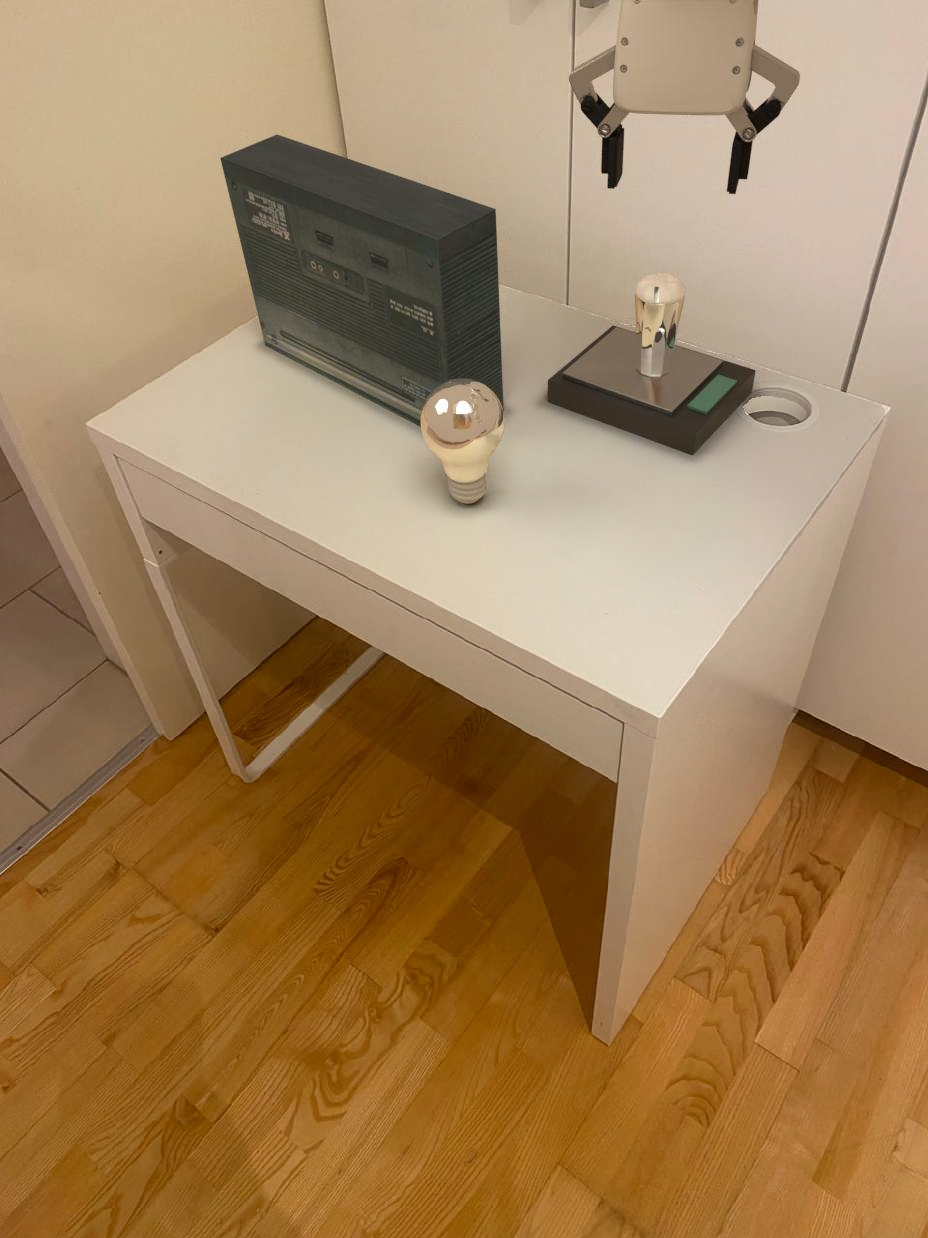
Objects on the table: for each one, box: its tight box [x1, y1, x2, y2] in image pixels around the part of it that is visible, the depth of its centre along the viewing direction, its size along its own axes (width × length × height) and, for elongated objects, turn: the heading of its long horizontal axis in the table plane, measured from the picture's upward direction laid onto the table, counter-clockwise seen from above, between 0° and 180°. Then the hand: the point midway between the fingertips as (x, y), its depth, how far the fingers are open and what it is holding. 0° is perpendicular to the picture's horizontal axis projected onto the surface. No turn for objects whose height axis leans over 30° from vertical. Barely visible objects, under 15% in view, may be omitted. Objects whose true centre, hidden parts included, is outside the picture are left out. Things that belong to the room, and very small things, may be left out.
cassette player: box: [219, 134, 505, 427], centre depth 93 cm, size 29×7×20 cm, turn 46°
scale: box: [547, 325, 757, 456], centre depth 93 cm, size 16×12×3 cm
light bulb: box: [420, 378, 505, 505], centre depth 81 cm, size 7×7×12 cm
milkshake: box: [634, 272, 687, 377], centre depth 88 cm, size 4×5×10 cm
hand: (672, 184), depth 79 cm, fingers open, 9 cm apart
